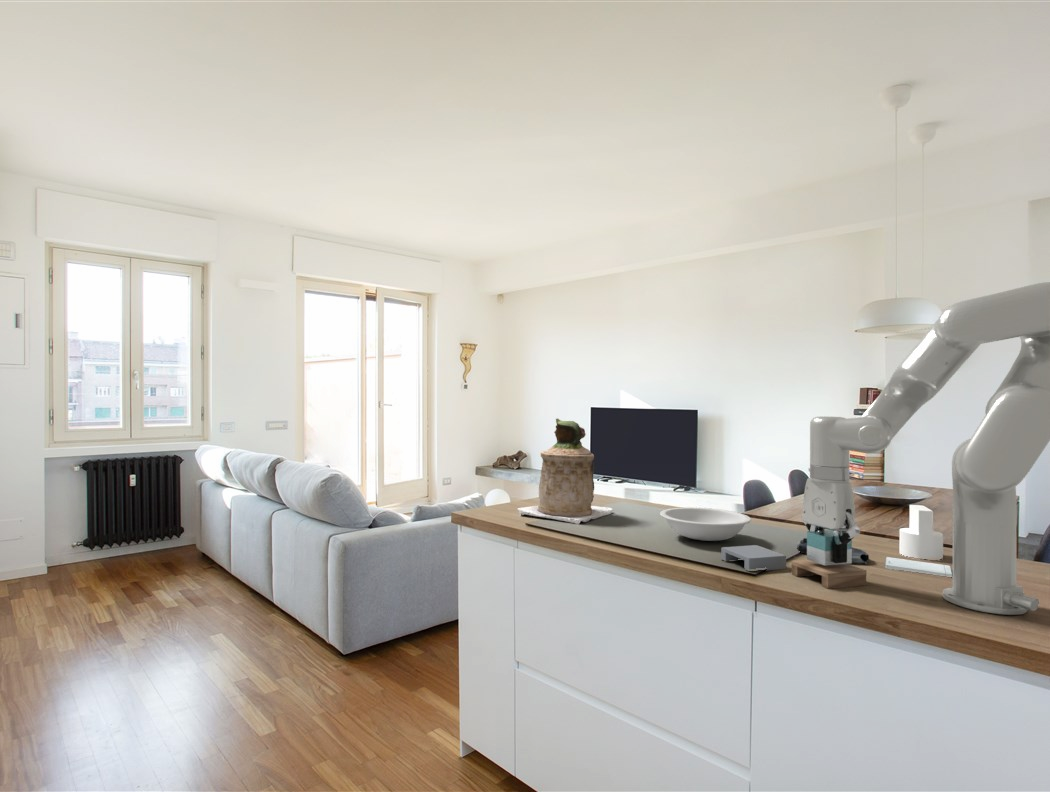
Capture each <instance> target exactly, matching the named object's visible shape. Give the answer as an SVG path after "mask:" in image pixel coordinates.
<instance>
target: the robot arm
mask: <svg viewBox="0 0 1050 792" xmlns="http://www.w3.org/2000/svg"><path fill="white" fill-rule="evenodd" d="M1015 338H1020V343H1021V346H1020V351H1019V353H1018V355H1017V357H1015V358H1016V359H1015V360H1014V362H1013V363H1012V366H1011V368H1010V369H1009V371H1008V372H1007V374H1006V375H1005V377H1004V379H1003V380H1002V382H1001V384H1000V385H999V387H998V388H997V389H996V390H995V392H994V394H993V395H992V396H990V398H989V400H988V402H987V403H986V406H985V413H984V414H985V416H983V419H982V420H981V422H980V424H979V425H978V427H977V429H976V430H975V431H974V433H973V435H972V436H971V438H969V439H966V440H964V441H963V442H961V443H960V444H959V445H958V446H957V447H956V448H955V450H954V452H953V455H952V459H951V477H952V478H951V479H952V480H951V481H952V578H951V579H952V581H951V582H952V587H947V588H944V589H943V590H942V597H943V599H944V600H946V601H948V602H950V603H951V604H954V605H957V606H959V607H962V608H965V609H969V610H973V611H978V612H983V613H989V614H996V615H1006V616H1016V615H1023V614H1026V613H1027V612H1028V611H1031V612H1035V611H1037V609H1038V608H1039V603H1040V600H1039V599H1038V598H1037V597H1033V596H1030V595H1025V593H1024V586H1022V585H1019V584H1017V526H1018V507H1017V506H1018V505H1017V504H1018V503H1017V502H1018V501H1017V486H1019V485H1020V484H1021V483H1022V481H1023V480H1024V479H1025V478H1026V477H1027V475H1028V474H1029V472H1030V471H1031V469H1032V468H1033V467H1034V464H1036V462H1037V460H1039V457H1040V456H1041V454H1042V453H1043V451H1044V450H1045V449H1046V447H1047V446H1048V444H1049V442H1050V282H1049V281H1046V282H1044V281H1043V282H1038V283H1034V284H1029V285H1025V286H1021V287H1016V288H1012V289H1009V290H1005V291H1000V292H997V293H991V294H988V295H984V296H980V297H975V298H970V299H967V300H966V299H965V300H962V301H959V302H955V303H954V304H951V305H950V306H948V307H946V308H945V309H944V310H943V311H942V312H941V314H940V316H939V317H938V319H937V320H935V322H934V323H933V324H932V326H931V327H930V328H929V329H928V330H927V332H926V333H925V334H924V335H923V337H922V338H921V339H920V340H919V341H918V343H916V345H915V346H914V347H913V349H912V350H911V351H910V352H909V353H908V354H907V355H906V356H905V358H904V359H903V360H902V361H901V362H900V364H899V365H898V366H897V367H896V369H895V371H894V372H893V373H892V375H891V377H890V379H889V380H888V383H887V384H886V385H885V387H883V389H882V391H881V392H880V394H879V395H878V396H877V397H876V398H875V400H874V401H873V402H872V403H871V404H870V406H868V408H867V409H866V410H865V411H864V413H862V415H861V416H860V417H852V418H849V417H848V418H846V417H841V416H815V417H812V418H811V420H810V424H809V467H808V472H809V477H808V478H807V479H806V481H805V485H804V492H803V493H804V494H803V501H802V516H801V517H800V519H801V521H802V522H803V523H804V525H805V527H806V528H807V530H808V532H809V531H818V530H821V531H823V530H833V534H834V538H835V543H836V544H833V562H834V563H846V562H847V544H849V543H850V541H851V540H852V541H853V539H854V538H855V537H856V536H858V535H860V534H861V529H860V528H859V526H858V524H857V523H856V512H855V509H856V508H855V498H854V492H853V487H852V482H850V451H854V452H859V453H860V452H861V453H863V454H864V453H866V454H877V453H879V452H883V451H884V450H886V449H887V448H888V447H889V446H890V444H891V441H892V440H893V439H894V437H895V436H896V435H897V434H898V433H899V432H900V430H901V429H902V428H903V427H904V426H905V425H906V423H907V422H909V420H911V418H912V417H913V416H914V415H915V414H916V413H917V412H918V411H919V410H920V409H921V407H923V405H925V404H927V403H928V402H929V401H930V400H932V398H934V397H935V396H936V395H937V394H938V393H939V392H940V391H941V390H942V389H943V388H944V387H945V385H947V383H948V382H949V381H950V380H951V379H952V377H953V376H954V375H955V374H956V372H958V371H959V369H960V368H961V367H962V366H963V365H964V364H965V363H966V361H968V359H969V358H970V357H971V356H972V355H973V353H975V351H976V350H977V349H978V348H979V346H981V344H987V343H994V342H999V341H1005V340H1008V339H1015ZM840 532H842V536H840Z"/></svg>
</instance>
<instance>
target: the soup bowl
mask: <svg viewBox="0 0 1050 792" xmlns="http://www.w3.org/2000/svg"><path fill="white" fill-rule="evenodd" d="M659 514H660V516H661V517H662V518H664V519H665V520H666V522H667V524H668V525H669V527H670V528H671V529H672V530H673V531H674V532H676V533H677V534H679V535H680V536H682V537H685V538H686V539H687V538H688V539H690V540H695V541H696V540H698V541H705V542H706V541H707V542H718V541H724V540H729V539H731V538H733V537H735V536H737V535H738V534H739V533H740V532H741V531H742V530H743V528H744V526H745V525H746V524H749V523H751V521H752V518H751V517H750V516H748V515H746V514H744V513H740V512H736V511H731V510H726V509H718V508H708V507H691V506H690V507H689V506H688V507H674V508H673V507H672V508H666V509H664V510H661V511H660V512H659Z"/></svg>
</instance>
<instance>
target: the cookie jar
mask: <svg viewBox="0 0 1050 792" xmlns="http://www.w3.org/2000/svg"><path fill="white" fill-rule="evenodd" d="M555 423H556V426H555V430H554V432H553V433H554V434H555V438H556V443H555V444H554V445H552V446H551V447H549V448H547V450H541V452H540V457H541V459H542V465H541V471H540V477H539V483H538V499H539V505H532V506H531V505H530V506H525V507H518V508H517V510H518V512H519V516H520V517H521V516H522V515H527V516H531V517H532V516H533V517H537V518H538V517H539V518H544V519H545V518H546V519H552V520H557V521H562V522H567V523H571V524H576V525H579V524H580V523H581V522H583V523H587V522H589V521H591V520H596V519H599V518H601V517H606V516H608V515H611V514H612V513H613V511H614V509H613V508H612V507H608V506H598V505H592V503H593V500H594V498H595V496H594V491H595V482H594V481H595V480H594V470H595V466H594V459H595V455H594V454H593V453H592V452H591V450H589V449H588V448H586V447H584V446H583V445H582V442H581V440H582V439H584V438H585V437H586V435H587V434H586V429H585V428H584V427H581V426H580V424H579V423H577V422H576V421H574V420H561V419H559V418H558V417H556V418H555Z"/></svg>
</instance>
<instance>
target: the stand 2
mask: <svg viewBox="0 0 1050 792" xmlns="http://www.w3.org/2000/svg"><path fill="white" fill-rule="evenodd" d="M791 575H792V576H794V577H808V576H818V575H819V576H821V587H822V588H825V589H837V588H838V589H839V588H848V587H856V586H857V587H859V586H867V569H864V568H860V567H858V566H854V565H852V564H850V563H849V564H838V565H827V566H825V565H822V564H819V563H816V562H813V561H810V560H807V559H798V560H791Z"/></svg>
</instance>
